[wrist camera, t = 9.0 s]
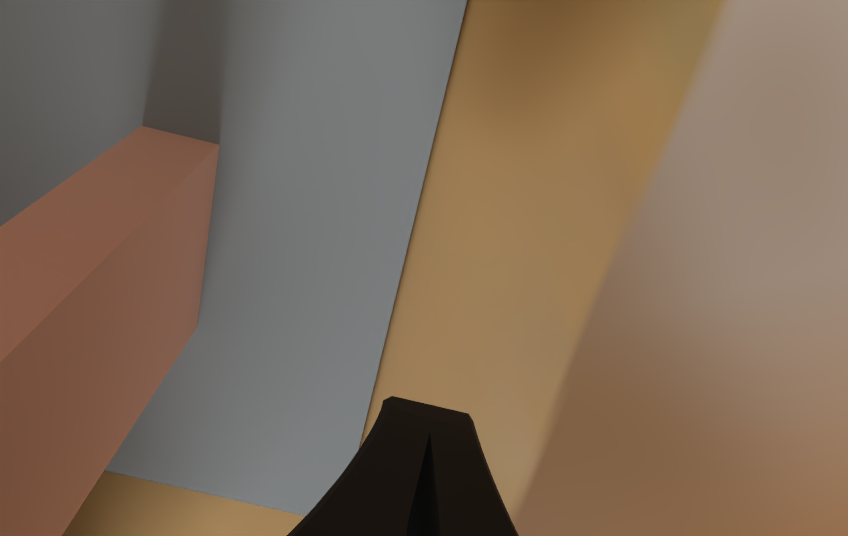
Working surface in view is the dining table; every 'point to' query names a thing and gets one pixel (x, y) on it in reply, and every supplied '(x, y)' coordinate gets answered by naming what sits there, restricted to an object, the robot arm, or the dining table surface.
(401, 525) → the robot arm
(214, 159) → the tile
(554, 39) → the dining table surface
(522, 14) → the dining table surface
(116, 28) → the mat
